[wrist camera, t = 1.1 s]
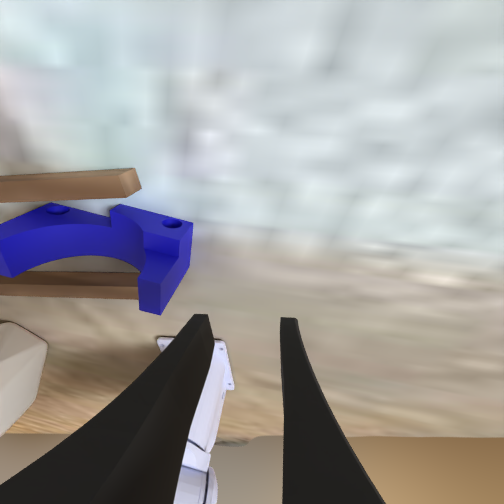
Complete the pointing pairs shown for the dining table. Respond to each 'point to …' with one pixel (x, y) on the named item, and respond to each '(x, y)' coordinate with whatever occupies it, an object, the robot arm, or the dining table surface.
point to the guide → (70, 188)
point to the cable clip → (102, 245)
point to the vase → (19, 371)
